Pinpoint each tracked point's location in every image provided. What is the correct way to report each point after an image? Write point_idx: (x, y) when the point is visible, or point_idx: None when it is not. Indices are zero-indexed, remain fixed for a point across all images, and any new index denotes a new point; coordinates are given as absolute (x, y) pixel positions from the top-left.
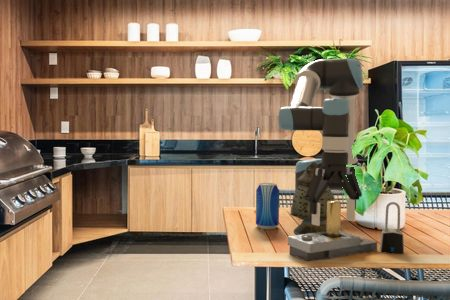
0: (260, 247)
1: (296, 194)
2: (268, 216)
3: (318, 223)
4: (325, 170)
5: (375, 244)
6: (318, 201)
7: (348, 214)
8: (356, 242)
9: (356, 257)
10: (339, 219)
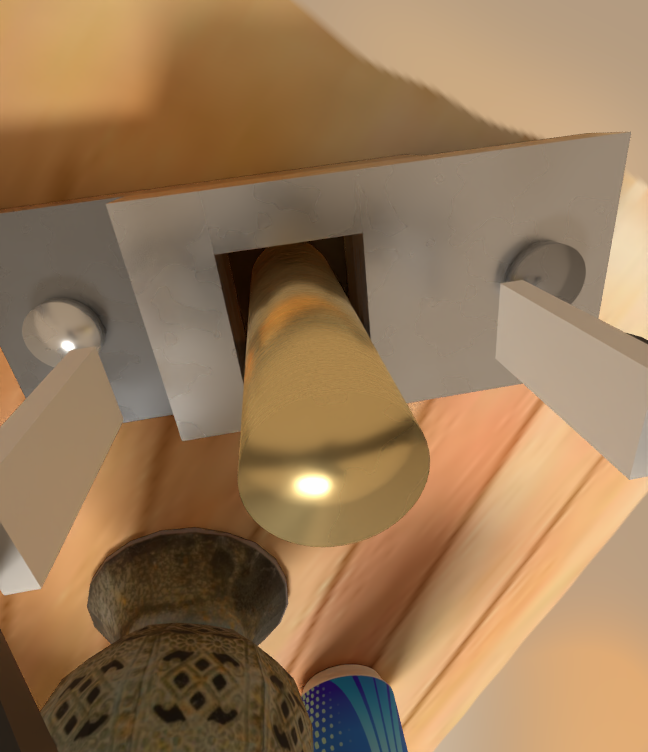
0: (569, 449)
1: None
2: (375, 724)
3: (525, 287)
4: None
5: None
6: (198, 748)
7: (98, 428)
8: (158, 193)
9: (215, 113)
10: (284, 312)
